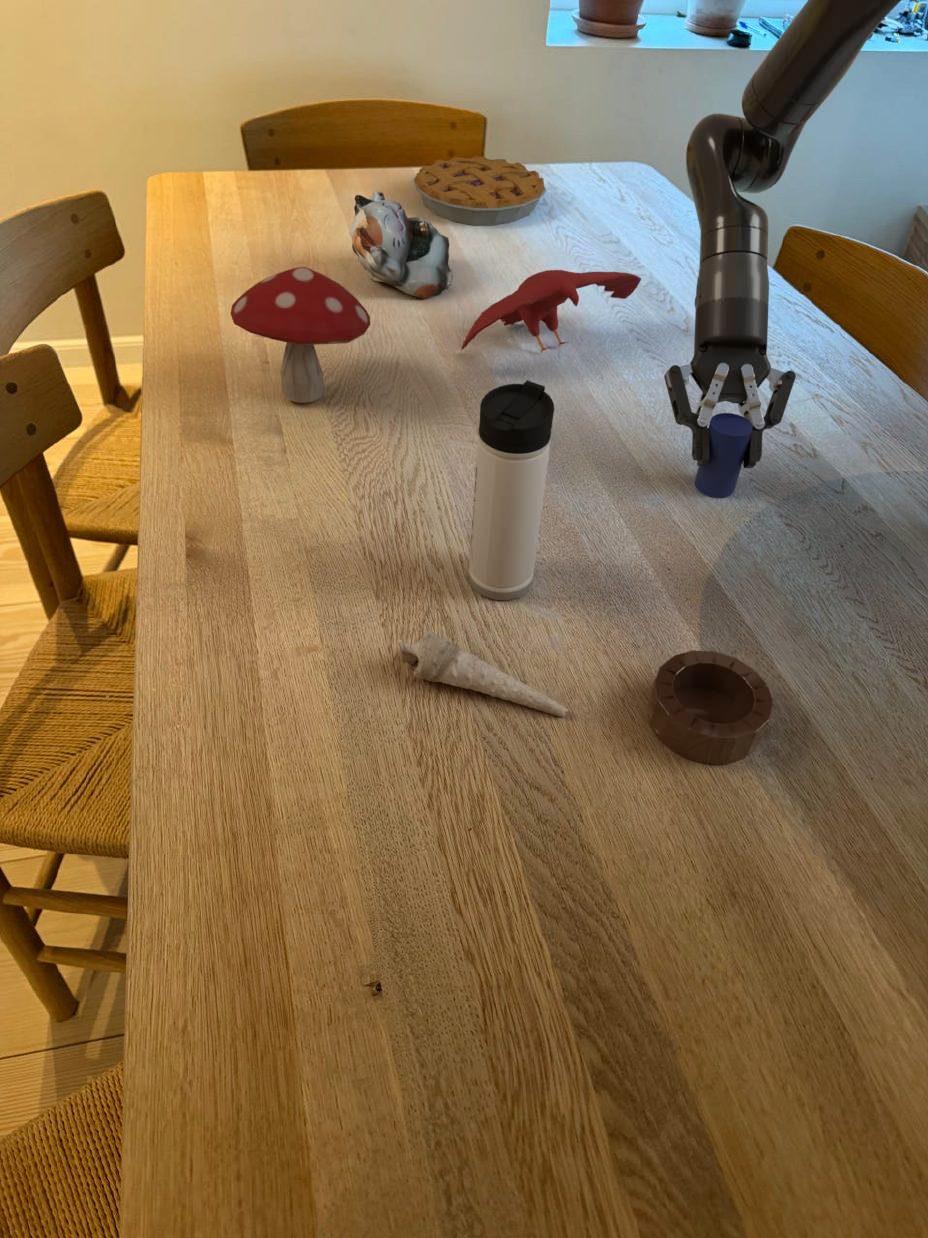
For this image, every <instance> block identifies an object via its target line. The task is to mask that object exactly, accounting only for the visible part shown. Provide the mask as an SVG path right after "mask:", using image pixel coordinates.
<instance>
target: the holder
mask: <svg viewBox="0 0 928 1238" xmlns="http://www.w3.org/2000/svg"><path fill="white" fill-rule="evenodd" d="M773 707H774V701H773V697H772V693H771V690H770V687H769V685H768V684H767V683H766V681H765V680H764V679H763V677H761V675H760V674H759V673H758V672H757V671H756V670H755V669H754V668H753V667H750V666H749V665H748V664H747V663H745V662H743V661H741V660H740V659H738V658H736V657H734V656H730V655H728V654H726V653H725V654H724V653H722V652H719V651H713V650H689V651H685V652H682V653H678V654H675V655H673V656H672V657H670V659H668V660H667V661H666V662H664V663H663V664H662V665H660V667H659V668H658V671H657V673H656V676H655V679H654V682H653V685H652V688H651V693H650V696H649V699H648V703H647V718H648V722H649V725H650V727H651V730H652V731H653V733H654V734H655V736H656V737H657V738H658V740H660V742H661V743H662V744H663V745H664V746H666V747H667V748H668V749H669V750H671V751H672V752H674V753H675V754H677V755H679V756H680V757H683V758H685V759H687V760H690V761H692V762H696V763H700V764H705V765H712V766H713V765H714V766H715V765H717V766H719V765H729V764H733V763H736V762H739V761H741V760H744V759H745V758H747V757H748V756H750V755H752V753H753V752H754V751H755V750H756V749H757V747H758V745H759V744H761V741H762V739H763V736H764V734H765V732H766V729H767V727H768V724H769V722H770V719H771V716H772V711H773Z"/></svg>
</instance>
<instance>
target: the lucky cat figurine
mask: <svg viewBox="0 0 928 1238" xmlns="http://www.w3.org/2000/svg"><path fill="white" fill-rule="evenodd" d="M354 201H355V204H354V207H353V210H354V219H353V222H352V224H351V226H350V228H349V235H350V237H351V243H352V244H351V248H352V253H353V255H354V256H355V258H356V260H357V261H358V262H359V263H360V265H361V266H362V268H363V269H364V270H365V271H366V272H368V275H369V278H370V280H372V281H374V282H382V283H385V284H387V285H390V286H391V287H392V286H393V287H394V288H396V289H398V290H399V291H401V292H403V293H404V294H405V293H406V294H407V295H411V296H413V297H415V298H417V299H421V300H426V299H430V298H434V297H438V296H440V295H441V294H442V293H443V292H444V291H448V290H449V289H450V288H451V287H452V282H453V278H454V276H453V275H454V274H453V271H452V269H451V268H450V265H449V262H450V261H449V260H450V254H449V250H450V240H449V237H447V236H446V235H443V234H441V233H440V232H439V230H438V229H437V228H436V227H435V226H434V225H433V223H432V222H431V221H430V220H429V219H427V218H424V217H422V216H421V217H420V216H411V217H408V215H407V214H406V211H405V209H404V207H403V205H402V204H401V203H399V202H398V201H395V200H391V199H386V198H385V195H384V193H383V192H382V191H381V190H375V191H373V192H372V195H371V196H370V198H368V197H365V196H363V195H361V194H356V195H355V196H354Z"/></svg>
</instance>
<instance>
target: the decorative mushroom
mask: <svg viewBox="0 0 928 1238" xmlns="http://www.w3.org/2000/svg"><path fill="white" fill-rule="evenodd" d="M230 316H231V320H232V322H233V324H234V325H235V326H237V327H239V328H241V329H242V330H244V331H246V332H248V333H251V334H253V335H257V336H261V337H264V338H267V339H270V340H274V341H279V342H284V343H286V344H285V347H284V348H285V349H284V352H283V359H282V362H281V367H280V382H281V383H280V384H281V392H282V396H283V397H285V399H287V400H288V401H291V402H293V403H299V404H307V403H311V402H315V401H318V400H320V398H321V397H323V396H324V393H325V385H324V373H323V369H322V366H321V363H320V361H319V358H318V354H317V350H316V348H315V345H316V346H317V345H318V346H319V345H336V344H337V345H338V344H339V345H341V344H350V343H351V342H353V341H355V340H358V339H359V338H360V337H362V336H364V335H365V334H366V332H367V331H368V330H369V328H370V326H371V316H370V315H369V312H368V311H367V309H366V308H365V306H364V305H363V304H362V303H361V302H360V300H358V298H357V297H356V296H355V295H354V294H353V293H352V292H351V291H350V290H348V289H347V288H346V287H345V286H343V285H341V284H340V283H339V282H337V281H335V280H334V279H331V278H330V277H328V276H326V275H324V274H323V273H320V272H318V271H316V270H314V269H311V268H308V267H304V266H299V267H294V268H290V269H287V270H284V271H280V272H278V273H275V274H273V275H270V276H268V277H266V278H263V279H262V280H259V281H258V282H257V283H255V284H254V285H252V286H251V287H250V288H248V289H246V290H245V292H243V293H242V294H241V295H240V296H239V297H238V298H237V299H236V300H235V301H234V302H233V303H232V304H231V309H230Z"/></svg>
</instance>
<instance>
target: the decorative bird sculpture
mask: <svg viewBox="0 0 928 1238" xmlns="http://www.w3.org/2000/svg"><path fill="white" fill-rule="evenodd" d="M641 281H642V277H640V276H638V275H636V274H634V273H629V272H620V271H585V272H574V271H568V270H564V269H549V270H548V269H547V270H543V271H540V272H537V273H534V274H532V275H530V276H528V277H526V279H525V280H523V282H521V284H519V286H518V288H517V289H516V290H515V291H513V292H512V293H511V294H508V295H506V296H504V297H503V298H502V299H500V300H498V301H496V302H494V303H493V304H491V305H490V306H489V307H488V308H486V309H485V310H483V311H482V312H480V315H479V316H478V317H477V318H476V319H475V320H474V323H473V324H472V326H471V327H470V329H469V331H468V333H467V335H466V337H465V339H464V340H463V342H462V345H461V350H460V351H463V350H464V349H465V348H466V347H467V346H468V345H469V343H471V341H473V340H474V339H475V338H476V337H477V335H478V334H479V333H480V332H482V331H484V330H485V329H486V328H488V327H490V326H492V325H493V324H495V323H496V322H497V321H500V322H501V323H503V324H502V325H503V327H507V326H510V325H511V326H513V325H515V324H516V323H519V322H523V324H524V325H525V326H526V327H527V330H528V332H529V334H531V335H532V336H533V337H535V338H536V340H537V343H538V344H539V346H540V349H541V350H540V352H541V353H543V352H544V351H546V350H549V349H551V350H552V348H551V347H545V346H544V344H543V342H542V340H541V337H540V336H539V335H540V323H541V322H542V323H544V324H545V326H546V328H547V329H548V330H549V331H550V332H553V333H554V335H555V338H556V340H557V341H558V345H557V346H558V347H560V346H561V345H564V344H567V343H568V344H569V342H568V341H564V342H563V341H562V339H561V338H560V335H559V334H558V331H557V330H558V328H559V317H558V306H560V305H562V304H565V302H567V300H570V301H571V302H572V304H573V305H574V306H575V307H577V306H578V304H579V301H580V297H579V296H580V295H579V293H578V291H577V290H578V289H582V288H585V287H588V286H591V285H596V286H597V287H604V289H603V291H604V292H607V293H610V292H612V293H611V294H610V298H613V299H620V300H625V299H628V297H630V296H631V295H632V294H633V293H634V292H635V290H636V289H637V288H638V286H639V284H640V283H641Z"/></svg>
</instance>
